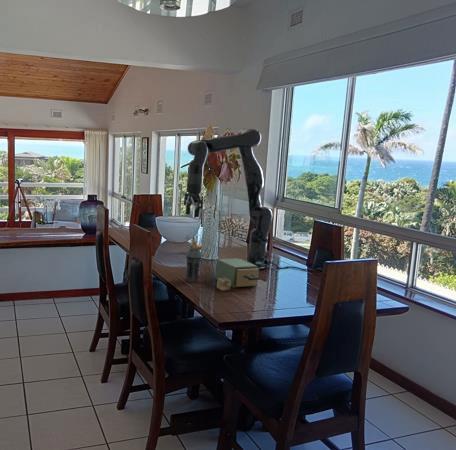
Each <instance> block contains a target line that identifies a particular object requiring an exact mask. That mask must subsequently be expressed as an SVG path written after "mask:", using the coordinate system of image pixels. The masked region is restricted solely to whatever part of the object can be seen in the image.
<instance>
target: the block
mask: <svg viewBox="0 0 456 450" xmlns="http://www.w3.org/2000/svg"><path fill="white" fill-rule="evenodd" d="M231 288H232V287H231V280H229V279H227V278H217V279H216V289H218V290H220V291H231Z"/></svg>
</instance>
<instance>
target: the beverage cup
mask: <svg viewBox="0 0 456 450" xmlns="http://www.w3.org/2000/svg"><path fill="white" fill-rule="evenodd" d="M195 241H196V240H195V238H194V239H193V244H194V245H193V244H192V245H193V248H192V249H191V248H190V249H189V250H188V251H187V253H186V255H185V257H186V281H187V282H188V283H197V282H198V278H199V273H200V266H201V262H202V259H203V255H202V251H201V250H199V249H197V248H195Z"/></svg>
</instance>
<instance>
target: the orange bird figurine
mask: <svg viewBox="0 0 456 450" xmlns="http://www.w3.org/2000/svg"><path fill="white" fill-rule="evenodd" d="M189 238H190V236H189V234H186V238H185V239H184V243H185V244H186V245H188V247H187V249H189V250H190V249H192V248H193V245H194V242H190V239H189ZM186 240H187V241H188V243H187V242H186ZM202 246H203V245H200V244H198V243H197V241H196V240H195V248H197V249H199V250H200V251H201V248H202Z"/></svg>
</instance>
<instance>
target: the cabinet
mask: <svg viewBox="0 0 456 450" xmlns="http://www.w3.org/2000/svg"><path fill="white" fill-rule="evenodd" d="M239 268H254V269H255V268H257V266H256V265H254V264H251V263H249V262H248V261H246V260H244V259H241V258H238V257H237V258H236V257H234V258H217V259H216V264H215V275H214V279H215V280H217V278H227V279H229V280H231V287H230V288H237V287H236V285H235V275H236V269H239ZM244 287H245V288H246V286H243V287H242V288H244Z"/></svg>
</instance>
